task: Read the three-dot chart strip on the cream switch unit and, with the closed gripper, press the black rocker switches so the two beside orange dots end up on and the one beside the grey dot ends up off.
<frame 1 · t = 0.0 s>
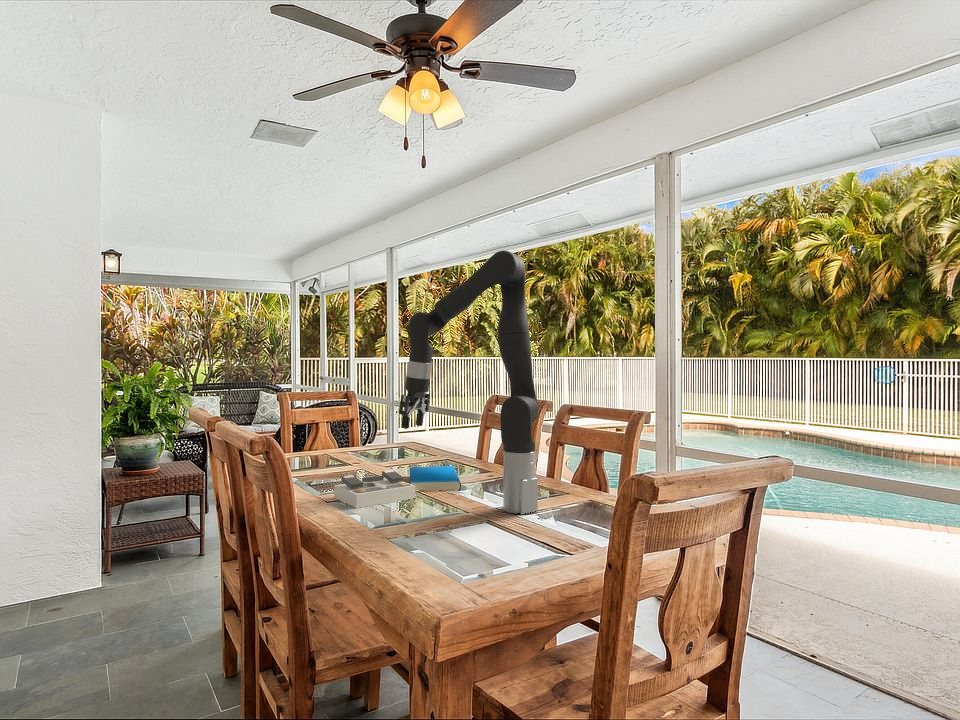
hand: (412, 426, 187), 22 cm above the table, tool pointing down, fingers open, 8 cm apart
rocker a: (392, 476, 192), point 6 cm above the table, hinge at -11.0°
rocker c: (352, 481, 184), point 6 cm above the table, hinge at -11.0°
rocker b: (372, 478, 188), point 6 cm above the table, hinge at 11.0°
book: (433, 484, 209), on the table
switch unit: (374, 498, 187), on the table
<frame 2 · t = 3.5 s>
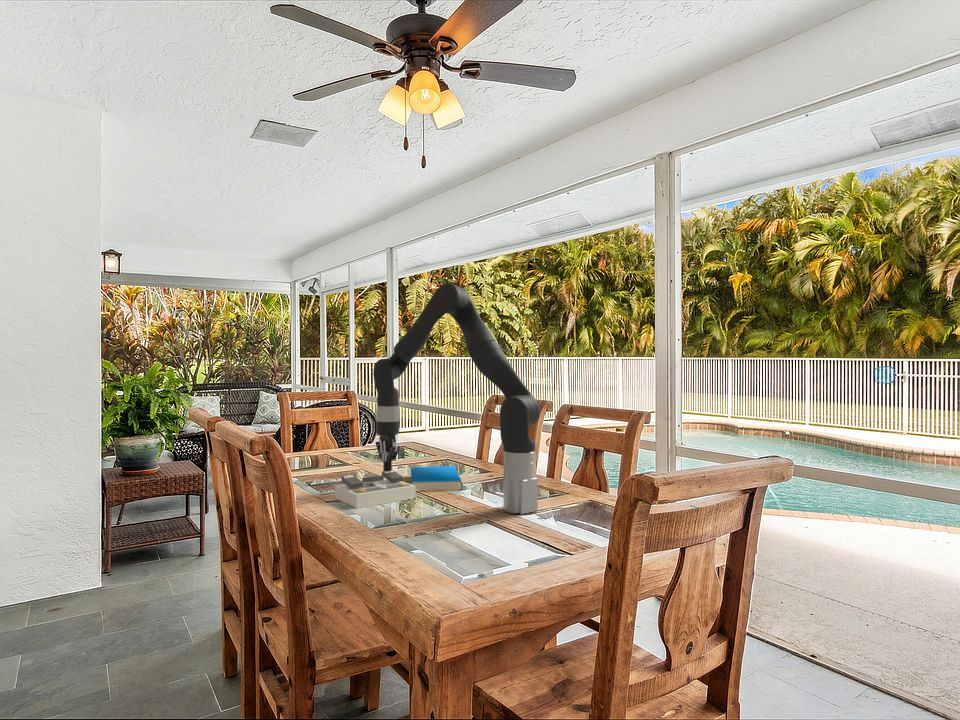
hand: (387, 472, 195), 7 cm above the table, tool pointing down, fingers closed
rocker a: (392, 476, 192), point 6 cm above the table, hinge at -9.7°, touching gripper
everything else where it was.
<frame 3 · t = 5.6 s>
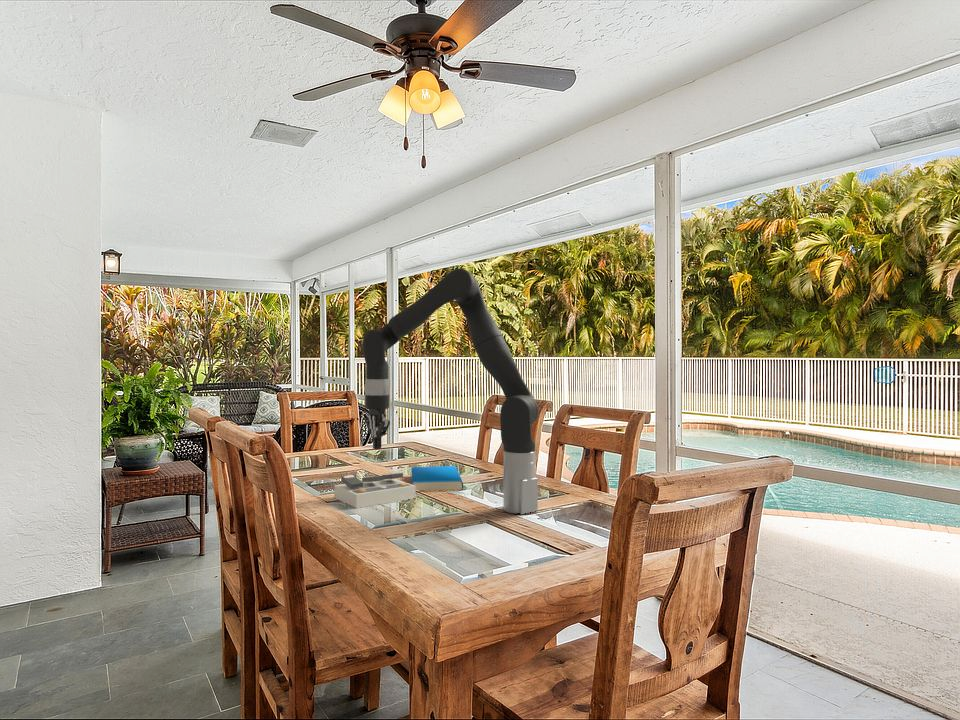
hand: (377, 448, 186), 16 cm above the table, tool pointing down, fingers closed
rocker a: (392, 476, 192), point 6 cm above the table, hinge at 11.4°
everything else where it was.
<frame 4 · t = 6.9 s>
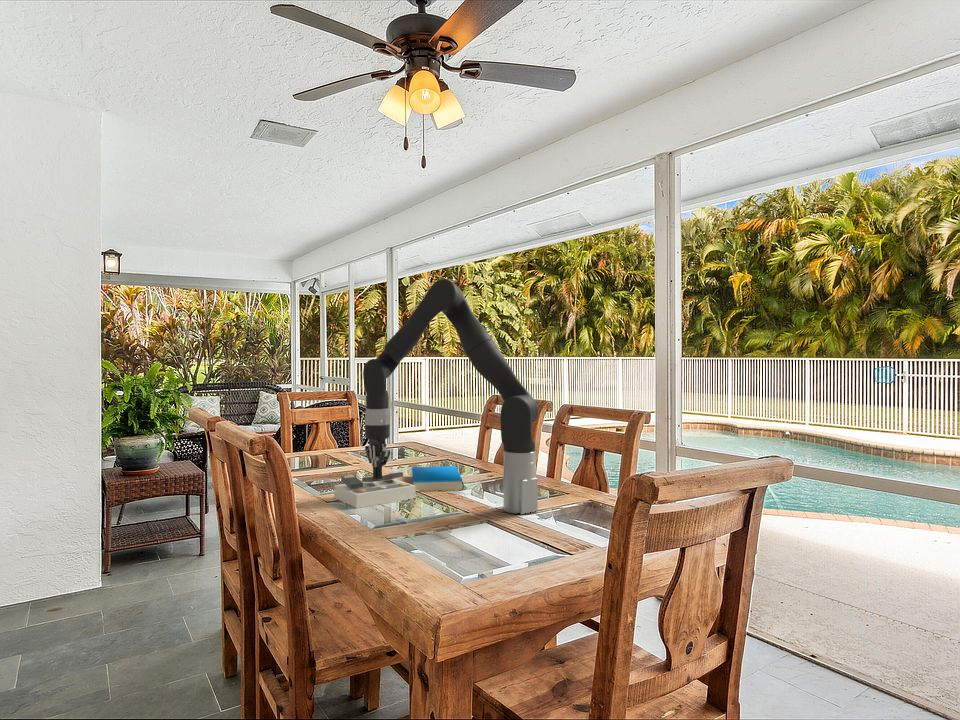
hand: (377, 478, 185), 7 cm above the table, tool pointing down, fingers closed
rocker a: (392, 476, 192), point 6 cm above the table, hinge at 16.5°
rocker b: (372, 478, 188), point 6 cm above the table, hinge at 10.1°, touching gripper
everything else where it was.
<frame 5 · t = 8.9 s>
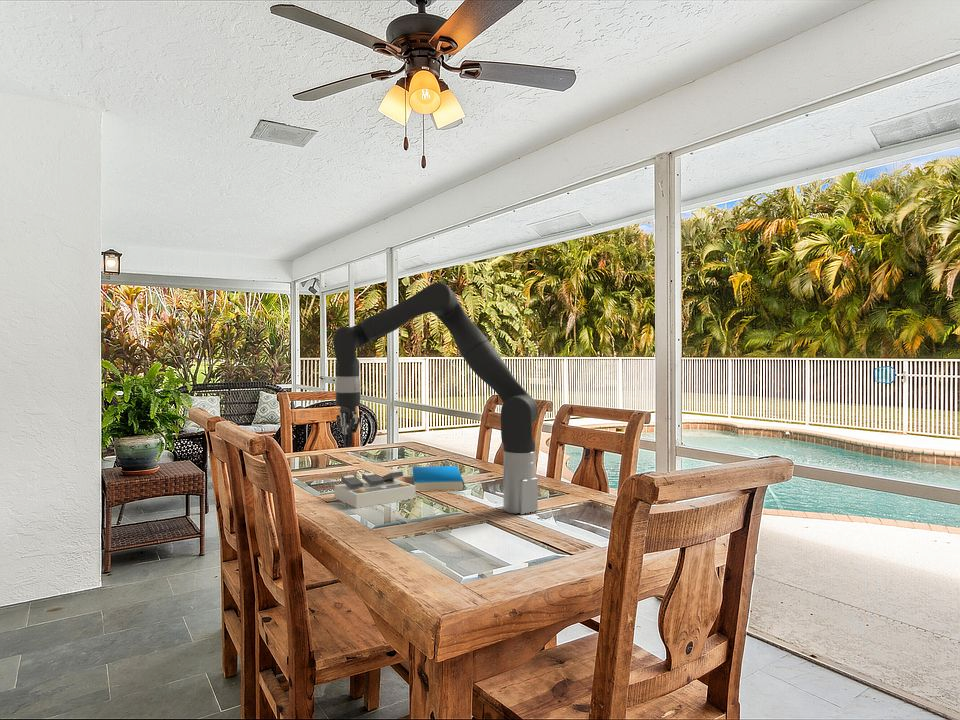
hand: (348, 446, 186), 16 cm above the table, tool pointing down, fingers closed
rocker a: (392, 476, 192), point 6 cm above the table, hinge at 19.7°, touching switch unit
rocker b: (372, 478, 188), point 6 cm above the table, hinge at -9.7°
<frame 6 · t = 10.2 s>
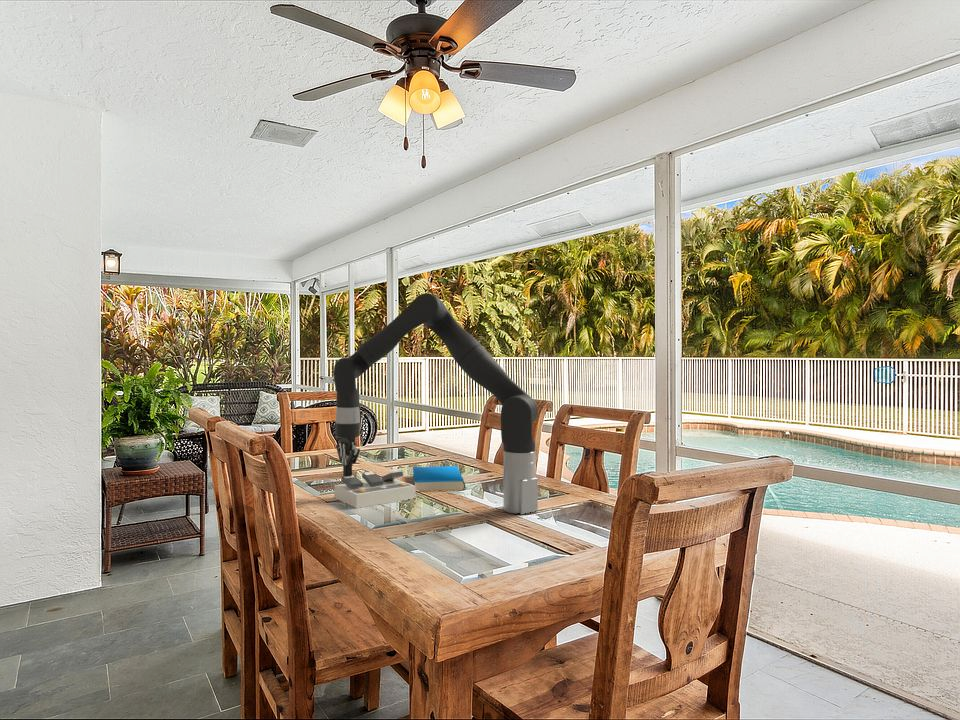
hand: (347, 476, 186), 7 cm above the table, tool pointing down, fingers closed
rocker c: (352, 481, 184), point 6 cm above the table, hinge at -10.9°, touching gripper
rocker b: (372, 478, 188), point 6 cm above the table, hinge at -15.1°
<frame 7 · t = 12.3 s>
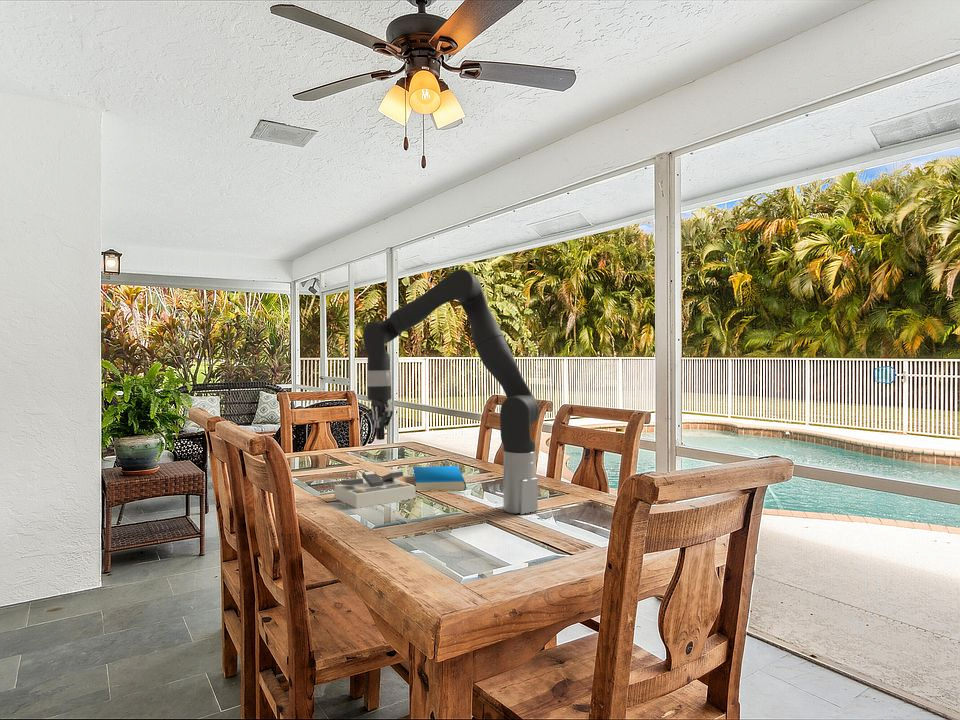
hand: (380, 439, 189), 18 cm above the table, tool pointing down, fingers closed
rocker a: (392, 476, 192), point 6 cm above the table, hinge at 19.3°, touching switch unit
rocker c: (352, 481, 184), point 6 cm above the table, hinge at 8.9°
rocker b: (372, 478, 188), point 6 cm above the table, hinge at -18.5°
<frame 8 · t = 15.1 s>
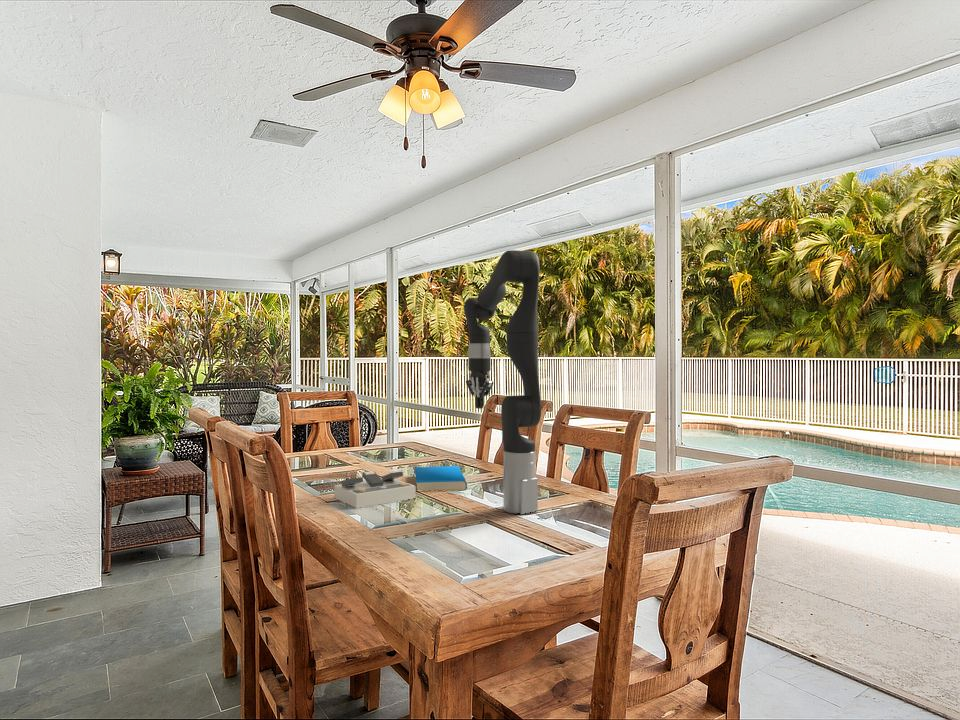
hand: (479, 408, 201), 27 cm above the table, tool pointing down, fingers closed
rocker c: (352, 481, 184), point 6 cm above the table, hinge at 17.4°
rocker b: (372, 478, 188), point 6 cm above the table, hinge at -19.7°, touching switch unit
at the end: rocker a at +19° (first picture: -11°); rocker b at -20° (first picture: +11°); rocker c at +18° (first picture: -11°) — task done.
